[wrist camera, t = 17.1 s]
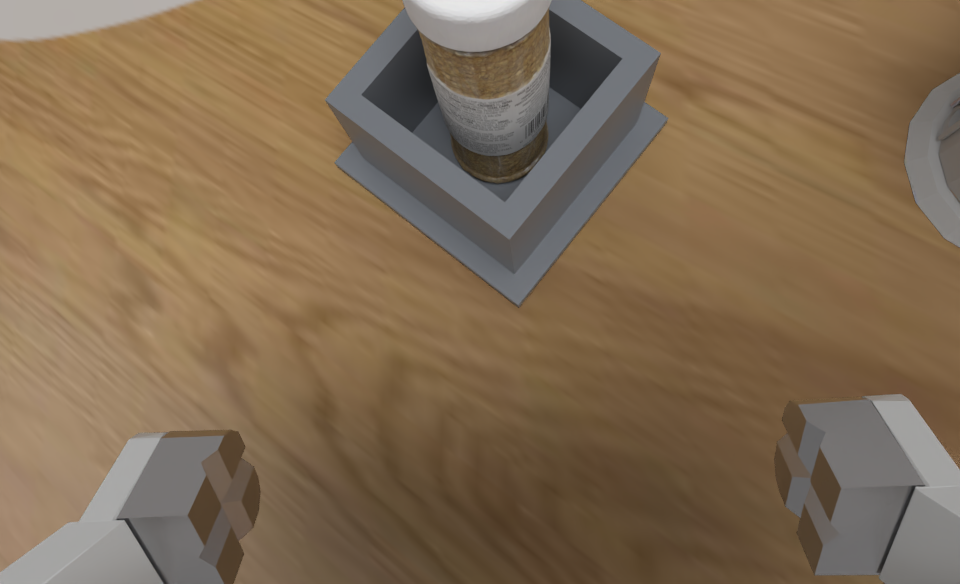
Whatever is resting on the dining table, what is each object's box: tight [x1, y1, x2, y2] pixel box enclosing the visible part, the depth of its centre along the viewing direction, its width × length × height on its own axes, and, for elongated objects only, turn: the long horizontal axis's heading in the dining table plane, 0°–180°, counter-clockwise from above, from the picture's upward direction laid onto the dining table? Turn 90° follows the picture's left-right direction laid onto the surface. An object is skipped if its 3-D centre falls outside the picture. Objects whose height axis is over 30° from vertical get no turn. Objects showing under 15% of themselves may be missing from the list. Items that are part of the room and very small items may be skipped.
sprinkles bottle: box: [402, 0, 552, 184], centre depth 25 cm, size 5×5×14 cm
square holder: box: [325, 0, 668, 308], centre depth 29 cm, size 11×11×7 cm
